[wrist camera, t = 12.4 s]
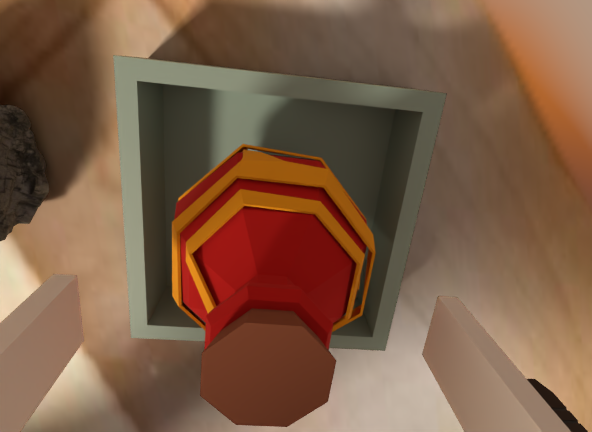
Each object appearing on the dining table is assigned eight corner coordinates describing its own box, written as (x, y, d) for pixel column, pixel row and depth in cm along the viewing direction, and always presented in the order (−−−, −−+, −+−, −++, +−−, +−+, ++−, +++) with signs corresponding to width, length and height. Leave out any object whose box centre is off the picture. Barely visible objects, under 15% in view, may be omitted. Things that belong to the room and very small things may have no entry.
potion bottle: (167, 234, 25) (38, 439, 11) (235, 94, 22) (173, 139, 8) (301, 295, 28) (330, 526, 14) (380, 176, 25) (519, 318, 11)
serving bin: (155, 292, 28) (131, 337, 23) (147, 58, 22) (113, 55, 17) (367, 305, 29) (384, 350, 24) (412, 88, 23) (446, 93, 19)
